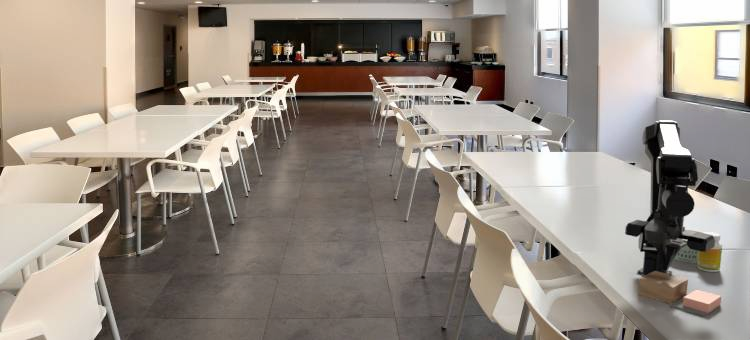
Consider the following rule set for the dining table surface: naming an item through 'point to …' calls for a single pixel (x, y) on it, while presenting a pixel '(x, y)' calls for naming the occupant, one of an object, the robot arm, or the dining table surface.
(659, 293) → the brown square block
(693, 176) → the robot arm
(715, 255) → the supplement bottle
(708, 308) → the pink block
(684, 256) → the food container
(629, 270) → the dining table surface
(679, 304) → the mat
